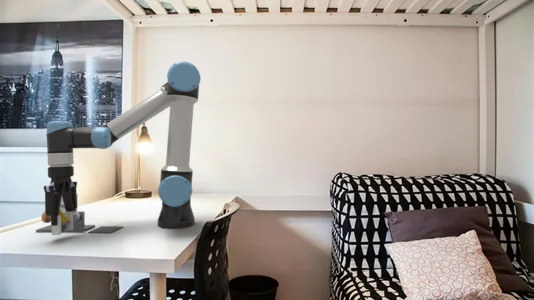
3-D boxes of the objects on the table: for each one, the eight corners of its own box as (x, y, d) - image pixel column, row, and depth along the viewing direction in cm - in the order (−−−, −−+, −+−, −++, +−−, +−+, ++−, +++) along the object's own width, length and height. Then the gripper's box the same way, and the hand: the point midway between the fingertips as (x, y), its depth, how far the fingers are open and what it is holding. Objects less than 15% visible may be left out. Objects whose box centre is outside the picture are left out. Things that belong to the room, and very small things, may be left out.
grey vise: (94, 227, 124) (95, 211, 124) (82, 232, 116) (82, 215, 116) (51, 227, 124) (51, 210, 124) (35, 232, 116) (36, 215, 116)
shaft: (82, 221, 122) (82, 210, 122) (75, 224, 117) (75, 212, 118) (50, 221, 122) (50, 209, 123) (41, 224, 118) (41, 212, 118)
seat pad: (123, 227, 124) (123, 226, 124) (111, 233, 115) (111, 232, 115) (101, 227, 124) (101, 226, 124) (88, 233, 115) (88, 232, 115)
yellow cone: (62, 234, 104) (56, 205, 104) (49, 236, 105) (43, 208, 105) (75, 229, 109) (69, 202, 109) (63, 232, 110) (57, 205, 110)
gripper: (68, 164, 116) (69, 225, 116) (29, 167, 98) (31, 240, 98) (87, 164, 116) (89, 225, 116) (52, 167, 98) (54, 239, 98)
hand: (62, 232), depth 107 cm, fingers closed on yellow cone, 5 cm apart
